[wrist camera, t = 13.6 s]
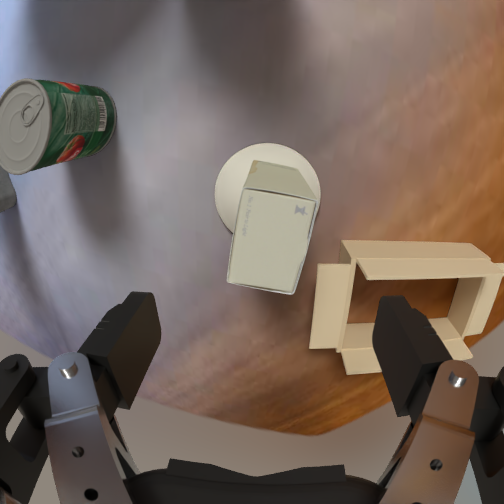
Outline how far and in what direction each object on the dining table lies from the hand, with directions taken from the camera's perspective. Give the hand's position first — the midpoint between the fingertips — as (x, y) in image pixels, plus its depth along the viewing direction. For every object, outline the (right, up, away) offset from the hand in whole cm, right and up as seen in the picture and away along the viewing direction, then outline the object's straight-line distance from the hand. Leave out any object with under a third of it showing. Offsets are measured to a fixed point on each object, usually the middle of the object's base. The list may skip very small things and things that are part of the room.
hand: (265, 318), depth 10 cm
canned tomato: (-18, +16, +16) cm, 29 cm away
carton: (+17, -2, +21) cm, 27 cm away
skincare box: (+1, +8, +18) cm, 20 cm away
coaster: (+1, +8, +18) cm, 20 cm away
